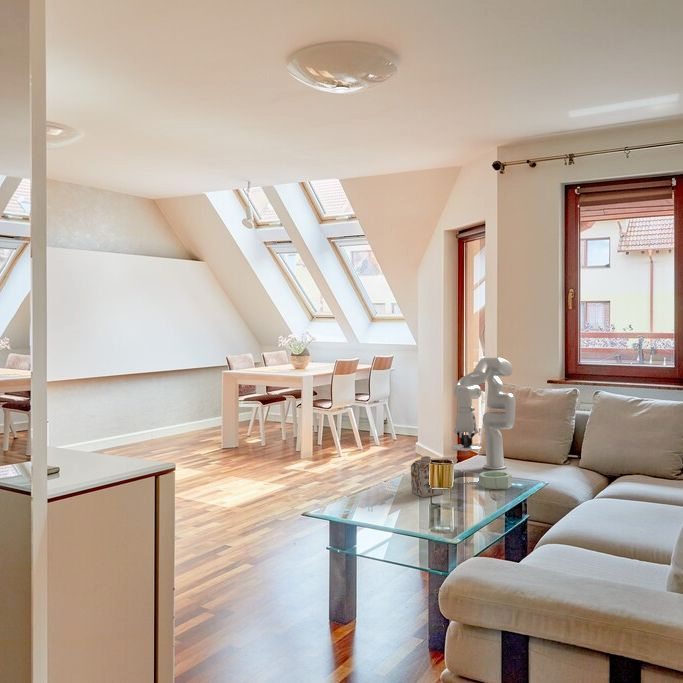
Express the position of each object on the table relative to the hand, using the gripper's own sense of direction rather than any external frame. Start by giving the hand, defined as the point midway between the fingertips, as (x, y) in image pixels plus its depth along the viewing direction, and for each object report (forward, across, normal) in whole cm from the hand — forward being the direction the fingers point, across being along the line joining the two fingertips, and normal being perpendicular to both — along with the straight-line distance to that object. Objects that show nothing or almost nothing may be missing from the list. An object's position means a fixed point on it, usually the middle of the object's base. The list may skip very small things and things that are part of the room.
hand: (466, 445), depth 352 cm
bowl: (+19, -17, +6) cm, 26 cm away
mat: (+19, 0, 0) cm, 19 cm away
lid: (+2, 0, 0) cm, 2 cm away
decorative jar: (+19, +8, +32) cm, 38 cm away
